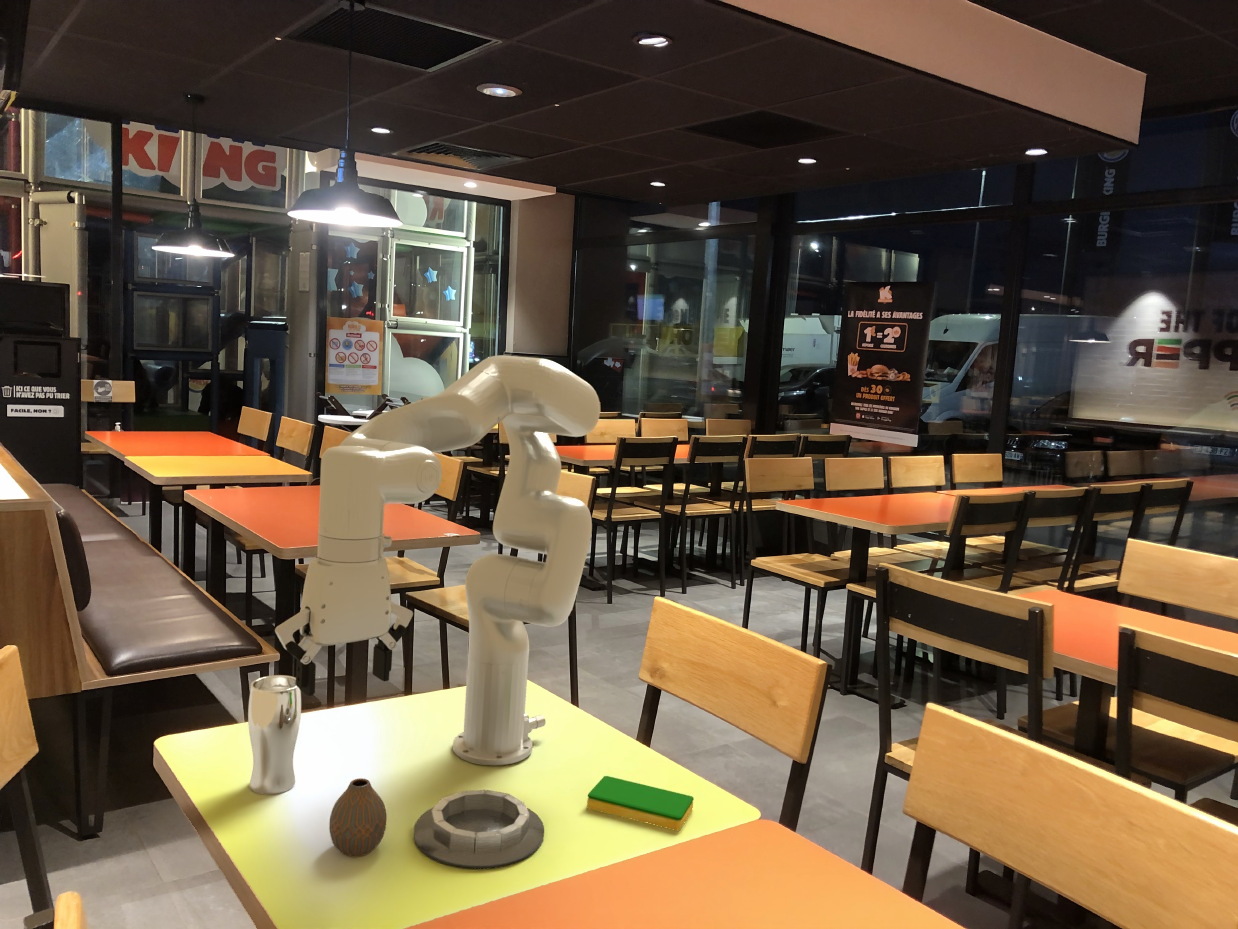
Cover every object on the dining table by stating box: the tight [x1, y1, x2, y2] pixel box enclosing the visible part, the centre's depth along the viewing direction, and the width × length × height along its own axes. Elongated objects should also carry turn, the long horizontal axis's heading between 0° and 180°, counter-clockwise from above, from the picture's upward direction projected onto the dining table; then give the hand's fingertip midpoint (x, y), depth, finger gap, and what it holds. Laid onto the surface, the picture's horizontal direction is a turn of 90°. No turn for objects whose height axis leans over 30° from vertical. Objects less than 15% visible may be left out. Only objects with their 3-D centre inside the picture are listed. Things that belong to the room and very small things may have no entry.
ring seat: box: [413, 789, 545, 870], centre depth 122 cm, size 17×17×3 cm
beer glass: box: [247, 674, 302, 796], centre depth 130 cm, size 7×7×15 cm
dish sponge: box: [586, 775, 695, 831], centre depth 132 cm, size 7×14×2 cm, turn 70°
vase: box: [328, 777, 388, 858], centre depth 116 cm, size 7×7×9 cm
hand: (344, 684), depth 114 cm, fingers open, 9 cm apart
